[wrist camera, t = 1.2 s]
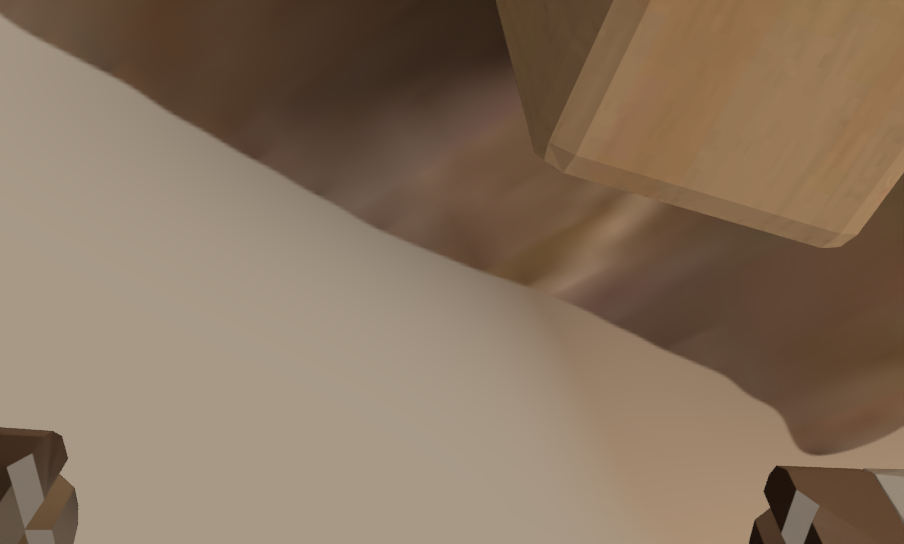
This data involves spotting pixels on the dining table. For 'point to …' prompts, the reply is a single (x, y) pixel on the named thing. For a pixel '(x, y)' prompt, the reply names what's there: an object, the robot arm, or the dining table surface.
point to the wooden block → (720, 104)
